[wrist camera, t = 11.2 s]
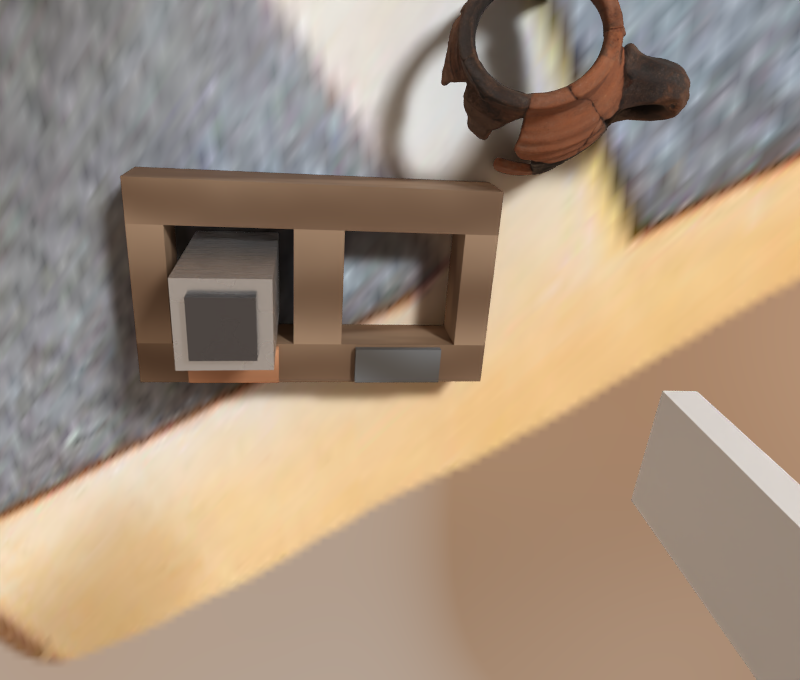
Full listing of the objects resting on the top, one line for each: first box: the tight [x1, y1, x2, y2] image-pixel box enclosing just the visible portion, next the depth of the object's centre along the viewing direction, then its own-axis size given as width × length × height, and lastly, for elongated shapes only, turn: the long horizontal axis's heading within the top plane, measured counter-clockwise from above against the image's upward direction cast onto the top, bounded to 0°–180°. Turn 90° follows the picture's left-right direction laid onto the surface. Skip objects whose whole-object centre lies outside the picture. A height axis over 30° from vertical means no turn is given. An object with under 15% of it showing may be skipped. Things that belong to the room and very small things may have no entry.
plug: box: [168, 231, 280, 371], centre depth 33 cm, size 4×4×9 cm
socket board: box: [120, 167, 504, 383], centre depth 36 cm, size 11×19×3 cm, turn 86°
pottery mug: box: [441, 0, 690, 175], centre depth 33 cm, size 12×10×8 cm
